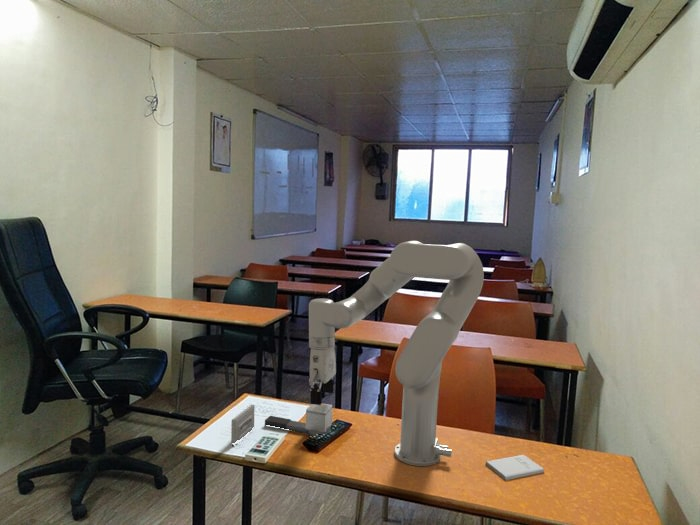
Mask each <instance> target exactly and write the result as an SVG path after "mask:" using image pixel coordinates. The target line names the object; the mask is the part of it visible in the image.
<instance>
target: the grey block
mask: <svg viewBox="0 0 700 525" xmlns="http://www.w3.org/2000/svg"><path fill="white" fill-rule="evenodd" d="M305 423H306V429H308V430H314V431H319V432H326V431H327V429H328V428H329V427H331V426H332V424H333V404H328V403H324V402H322V404H321V405H316V404H311V403H310V405H309V406H308V407H307V408H306V409H305Z"/></svg>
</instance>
